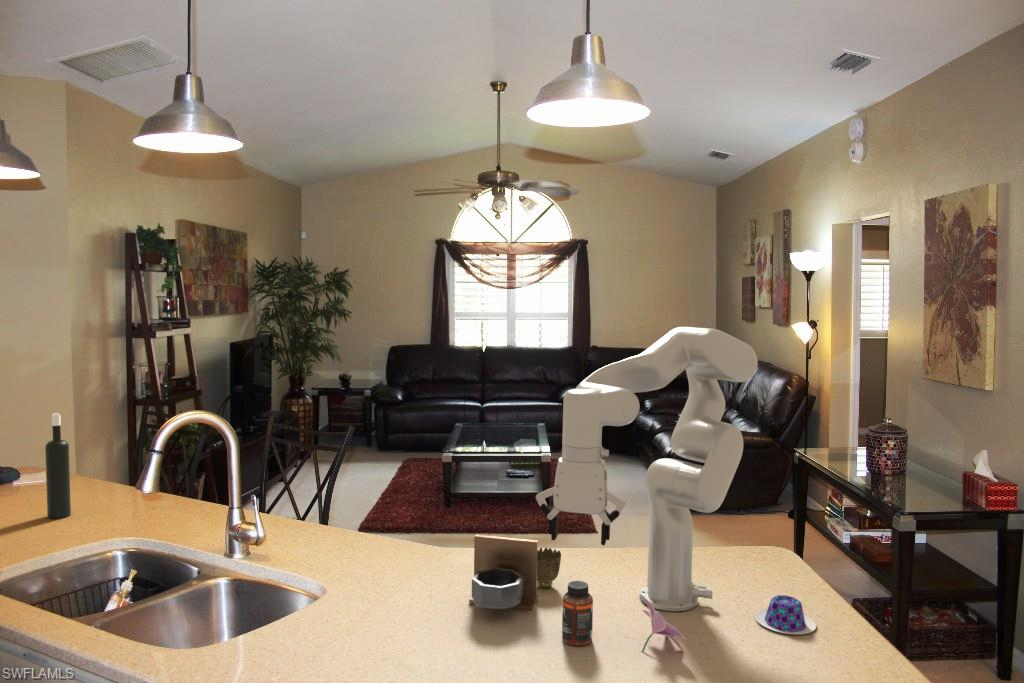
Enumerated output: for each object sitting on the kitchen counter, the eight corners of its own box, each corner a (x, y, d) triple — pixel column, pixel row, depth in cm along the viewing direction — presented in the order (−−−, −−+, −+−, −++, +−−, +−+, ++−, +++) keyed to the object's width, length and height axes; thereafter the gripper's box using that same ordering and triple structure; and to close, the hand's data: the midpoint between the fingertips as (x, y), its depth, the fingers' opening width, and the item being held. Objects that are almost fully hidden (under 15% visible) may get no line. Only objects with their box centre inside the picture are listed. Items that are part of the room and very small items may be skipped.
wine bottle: (42, 518, 216) (39, 414, 213) (58, 512, 221) (54, 411, 219) (60, 519, 215) (57, 415, 212) (75, 513, 220) (72, 412, 218)
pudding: (747, 626, 156) (748, 602, 155) (764, 606, 165) (766, 583, 165) (807, 643, 149) (808, 618, 148) (822, 622, 159) (823, 597, 158)
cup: (558, 594, 169) (558, 560, 169) (525, 591, 171) (526, 557, 170) (562, 581, 177) (563, 548, 176) (531, 578, 178) (532, 545, 177)
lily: (684, 675, 138) (703, 624, 140) (624, 645, 139) (645, 596, 141) (670, 662, 149) (688, 616, 151) (615, 636, 150) (634, 590, 152)
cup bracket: (537, 600, 166) (539, 538, 165) (524, 628, 152) (525, 561, 151) (476, 593, 169) (477, 532, 168) (458, 620, 155) (458, 554, 154)
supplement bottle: (598, 640, 148) (599, 584, 147) (579, 650, 144) (581, 593, 143) (574, 630, 152) (575, 575, 151) (555, 640, 148) (556, 584, 147)
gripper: (628, 452, 147) (625, 538, 148) (541, 446, 151) (538, 530, 152) (625, 461, 139) (622, 551, 141) (533, 454, 143) (531, 542, 145)
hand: (578, 540), depth 146 cm, fingers open, 9 cm apart
